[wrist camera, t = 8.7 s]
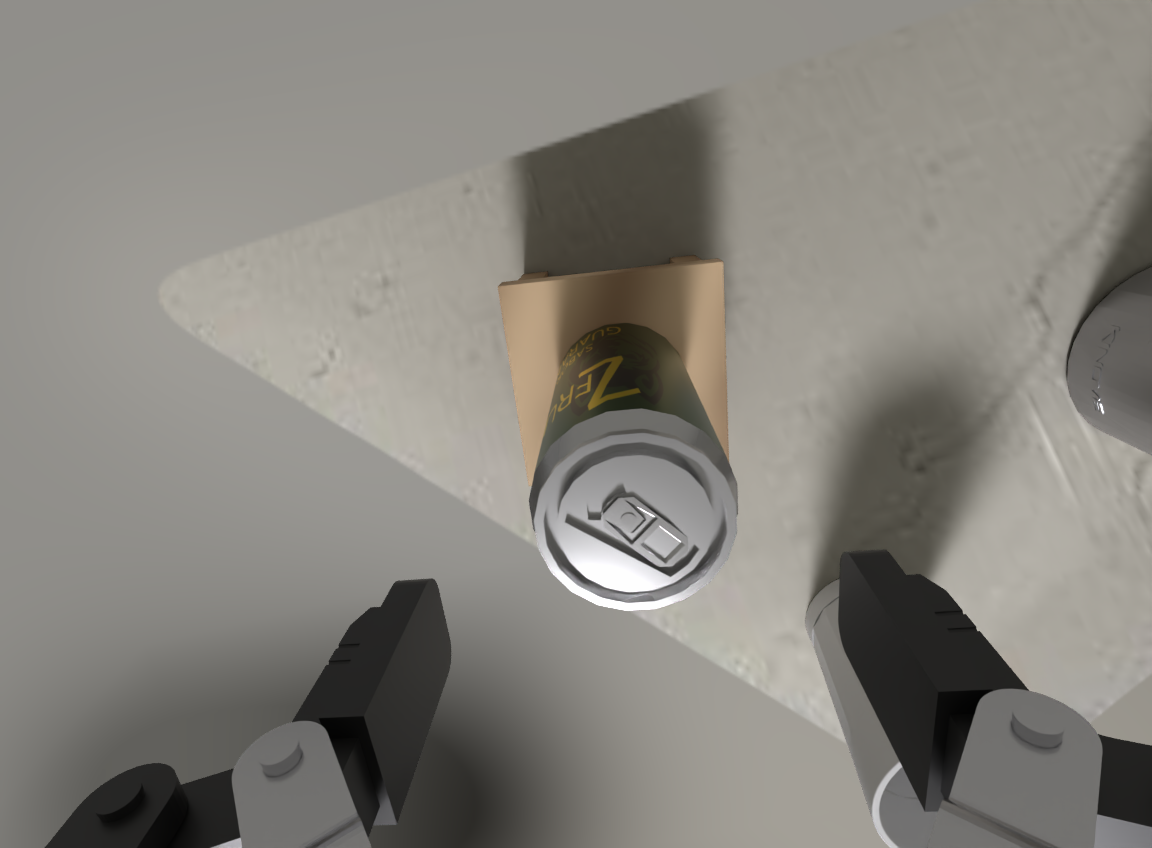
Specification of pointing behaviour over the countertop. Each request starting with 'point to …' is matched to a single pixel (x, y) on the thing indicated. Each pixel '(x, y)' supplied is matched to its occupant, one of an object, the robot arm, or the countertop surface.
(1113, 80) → the countertop surface
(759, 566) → the countertop surface
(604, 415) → the green soda can
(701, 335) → the stool
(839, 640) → the cup
